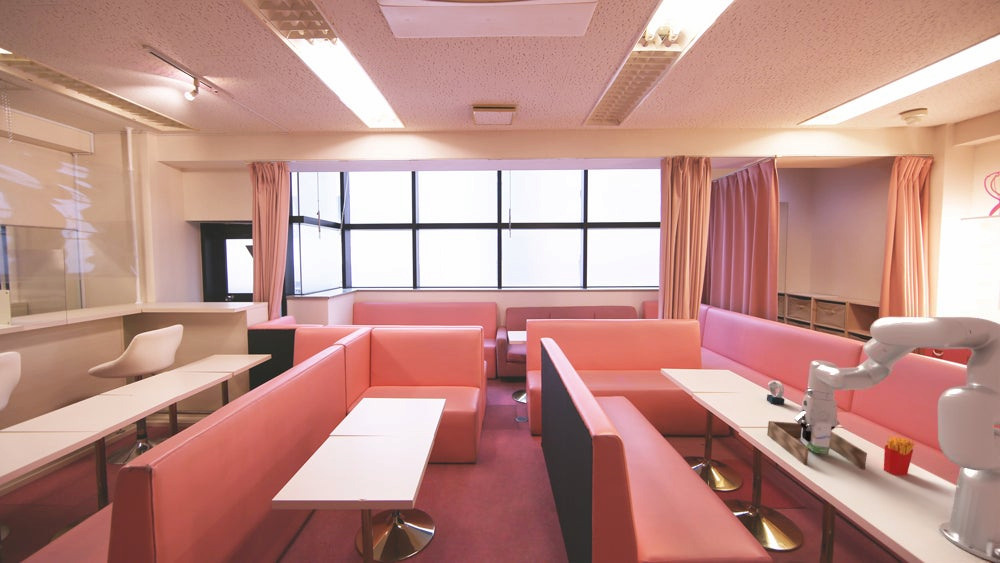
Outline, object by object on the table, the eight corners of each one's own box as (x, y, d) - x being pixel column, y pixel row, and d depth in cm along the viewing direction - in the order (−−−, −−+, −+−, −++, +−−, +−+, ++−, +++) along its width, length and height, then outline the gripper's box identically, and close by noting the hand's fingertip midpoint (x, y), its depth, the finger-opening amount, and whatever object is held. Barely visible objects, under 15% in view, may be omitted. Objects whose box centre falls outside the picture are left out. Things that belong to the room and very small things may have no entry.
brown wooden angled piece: (864, 469, 125) (867, 453, 125) (803, 464, 127) (805, 448, 126) (819, 438, 145) (821, 424, 144) (767, 435, 147) (768, 421, 146)
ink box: (829, 454, 131) (832, 423, 129) (813, 452, 132) (817, 422, 131) (814, 442, 139) (817, 413, 138) (799, 440, 140) (802, 411, 139)
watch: (776, 399, 183) (778, 379, 182) (786, 406, 175) (788, 385, 174) (764, 398, 184) (766, 378, 183) (773, 405, 176) (775, 383, 175)
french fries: (890, 475, 122) (895, 442, 121) (877, 468, 126) (882, 435, 125) (914, 475, 122) (919, 442, 121) (901, 468, 126) (906, 436, 125)
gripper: (803, 396, 130) (797, 443, 132) (854, 399, 129) (847, 447, 130) (788, 388, 138) (783, 433, 139) (836, 391, 136) (830, 437, 138)
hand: (814, 439), depth 135 cm, fingers closed on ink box, 5 cm apart
